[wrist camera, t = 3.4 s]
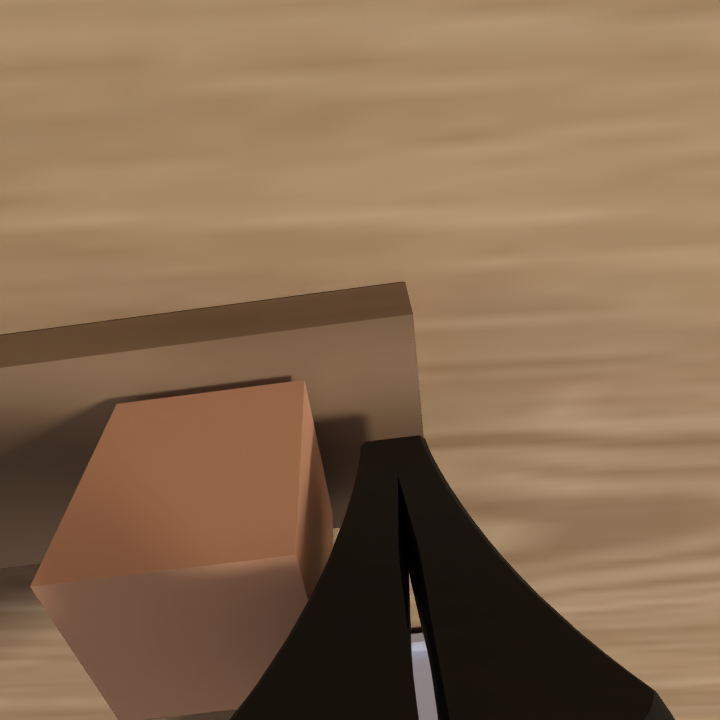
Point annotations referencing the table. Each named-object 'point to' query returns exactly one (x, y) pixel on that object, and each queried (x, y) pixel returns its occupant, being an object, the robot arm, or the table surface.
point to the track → (198, 389)
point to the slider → (190, 548)
